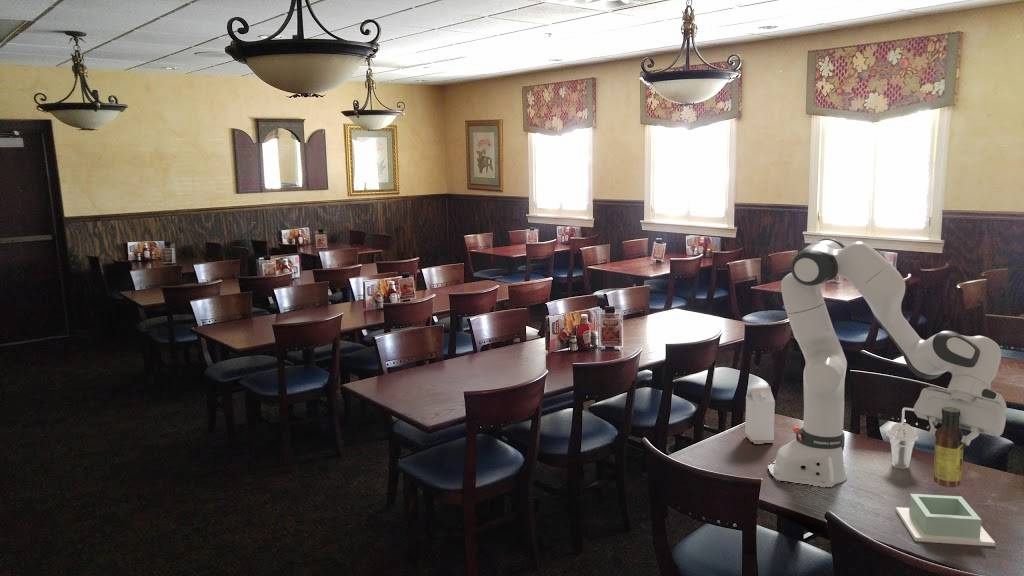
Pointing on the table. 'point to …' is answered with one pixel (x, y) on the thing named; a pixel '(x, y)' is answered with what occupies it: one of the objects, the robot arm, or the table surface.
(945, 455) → the sauce bottle
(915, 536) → the caddy
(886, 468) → the table surface
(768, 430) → the milk carton
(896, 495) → the table surface
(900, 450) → the cup with straw
